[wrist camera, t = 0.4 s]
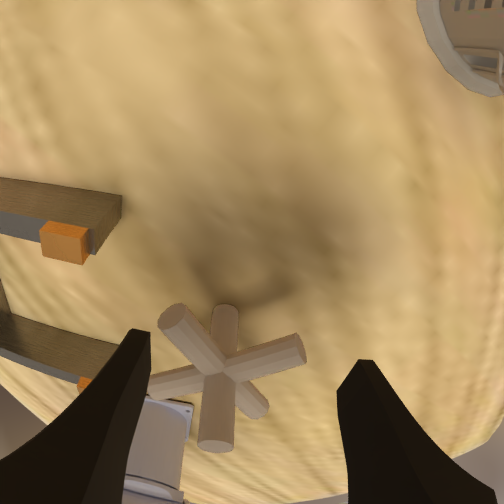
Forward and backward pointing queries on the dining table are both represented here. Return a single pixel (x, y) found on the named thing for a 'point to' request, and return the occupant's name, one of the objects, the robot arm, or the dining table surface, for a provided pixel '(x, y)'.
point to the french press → (467, 40)
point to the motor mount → (61, 248)
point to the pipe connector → (220, 370)
